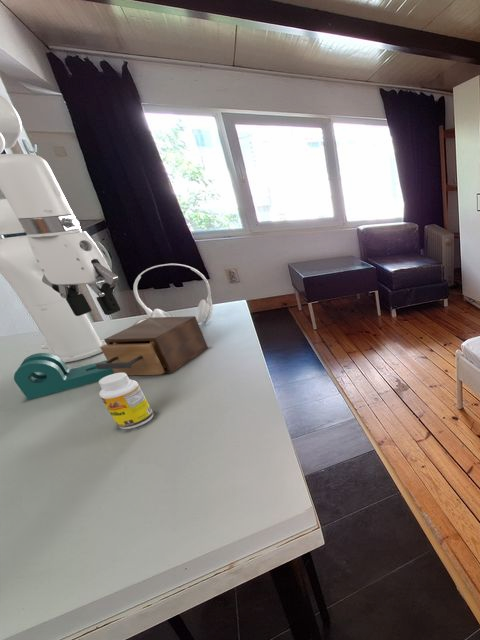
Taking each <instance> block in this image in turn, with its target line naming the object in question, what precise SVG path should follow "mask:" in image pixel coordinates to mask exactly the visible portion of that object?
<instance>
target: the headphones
mask: <svg viewBox="0 0 480 640" xmlns="http://www.w3.org/2000/svg"><path fill="white" fill-rule="evenodd" d="M165 266H180V267H185V268H188V269H190V271H192V272H194V273H196V274H197V275H198V276H199V277H200V278H201V279H202V280H203V282H204V283H205V286H206V289H207V297H206V299H201V300H200V301H199V303H198V306H197V308H196V312H195V317H196V320H197V322H198V324H204V325H205V324H208V323H209V322H210V320H211V318H212V315H213V312H214V311H213V310H214V306H213V300H212V294H211V286H210V284H209V281H208V279H207V278H206V277H205V275H204V274H203V273H202V272H200V271H199V270H198V269H196V268H195V267H192V266H189V265H186V264H181V263H164V264H157V265H154V266H151V267H149V268H146V269H145V270H143V271H142V272H140V273H139V274H138V275H137V277H136V278H135V279H134V282H133V295H134V298H135V299H136V301H137V303H138V305H140V307H142V309H143V310H144V311H145V314H146V315H147V316H148V318H156V317H173V316H172V315H170V314H169V313H168V312H166V311H165V310H162V309H160V308H154V309H153V310H152V309H150V308H149V307H147V305H146V304H145V303H144V302H143V300H142V299H141V298H140V295H139V292H138V284H139V281H140V280H141V278H142V275H143V274H145V273H147V272H148V271H150V270H152V269H155V268H159V267H165Z"/></svg>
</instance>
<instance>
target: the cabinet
mask: <svg viewBox="0 0 480 640" xmlns="http://www.w3.org/2000/svg"><path fill="white" fill-rule="evenodd" d="M145 319H146V320H144V319H143V320H144V321H142V322H140V323H138V322H137V323H138V324H137V323H135V324H134V325H132V326H128V327H127V328H124V329H123V330H121V331H118V332H117V333H114V334H112V335H110V336H108V337H105V338H104V339H103V340H105V342H106V344H107V345H110V344H113V342H132V341H154V343H155V345H156V347H157V349H158V351H159V353H160V355H161V357H162V359H163V361H164V364H165V366H166V368H163V369H164V371H165V372H164V373H163V374H173V373H174V372H176V371H178V370H179V369H180V368H181V367H183V366H184V365H186V364H187V363H189V362H191V361H192V360H193V359H194V358H196V357H197V356H199V355H201V354H202V353H203V352H205V351H206V350H208V349H209V347H208V344H207V342H206V339H205V336H204V334H203V332H202V329H201V327H200V325H199V324H200V323H198V322H197V320H196V315H194V316H192V315H191V316H189V315H187V316H172V317H156V318H150V317H148V318H145Z"/></svg>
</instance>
